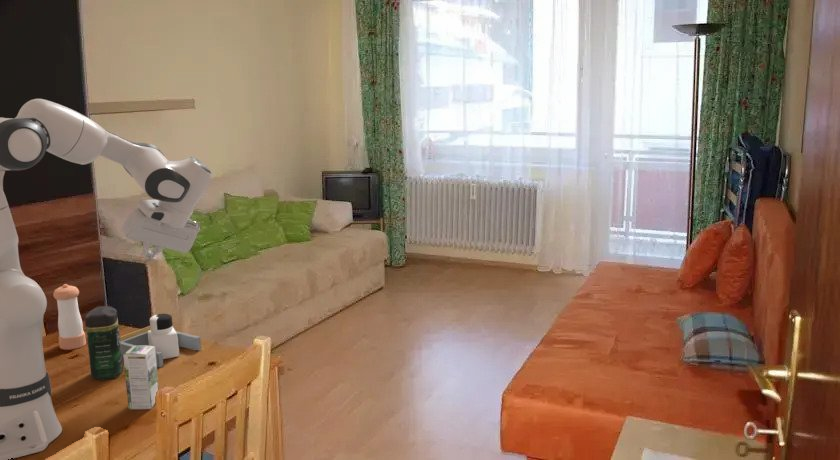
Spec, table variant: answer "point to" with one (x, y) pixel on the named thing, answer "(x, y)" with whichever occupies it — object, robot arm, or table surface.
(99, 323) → the coffee jar
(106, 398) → the table surface
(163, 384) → the table surface
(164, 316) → the medicine bottle
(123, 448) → the table surface
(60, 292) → the salt shaker
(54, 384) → the table surface
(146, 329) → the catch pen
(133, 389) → the syrup box
